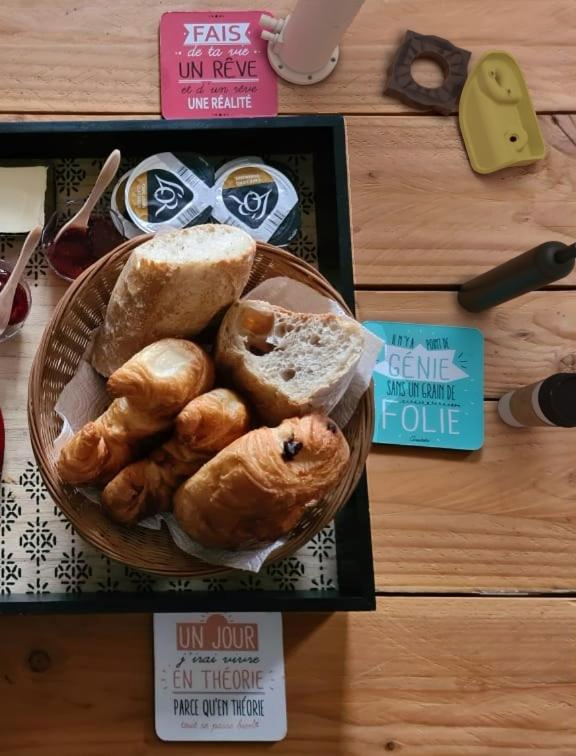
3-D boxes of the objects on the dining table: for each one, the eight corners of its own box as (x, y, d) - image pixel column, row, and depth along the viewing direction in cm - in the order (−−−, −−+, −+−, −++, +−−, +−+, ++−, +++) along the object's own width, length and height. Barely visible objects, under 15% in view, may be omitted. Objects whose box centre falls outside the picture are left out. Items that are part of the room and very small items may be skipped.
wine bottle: (451, 288, 125) (572, 226, 96) (480, 275, 126) (610, 210, 96) (466, 318, 125) (593, 266, 95) (496, 305, 125) (631, 249, 95)
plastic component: (549, 158, 126) (516, 160, 122) (507, 175, 133) (475, 178, 128) (517, 50, 128) (483, 48, 123) (477, 73, 134) (444, 72, 129)
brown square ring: (378, 95, 130) (383, 89, 128) (400, 31, 132) (405, 24, 130) (449, 121, 130) (455, 115, 128) (470, 56, 132) (476, 50, 130)
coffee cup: (550, 407, 122) (617, 396, 108) (519, 444, 121) (583, 438, 107) (510, 373, 123) (572, 358, 108) (479, 410, 122) (537, 399, 107)
